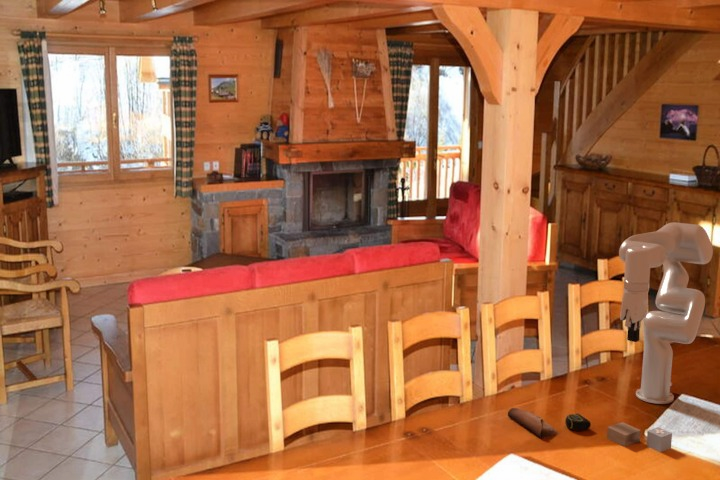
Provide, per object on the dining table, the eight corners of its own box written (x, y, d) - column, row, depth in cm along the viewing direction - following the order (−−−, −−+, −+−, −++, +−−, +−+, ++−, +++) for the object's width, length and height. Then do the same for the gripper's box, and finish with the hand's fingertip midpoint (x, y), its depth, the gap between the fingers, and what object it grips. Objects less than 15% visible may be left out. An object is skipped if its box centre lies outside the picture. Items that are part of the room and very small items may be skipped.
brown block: (621, 433, 242) (622, 422, 241) (639, 442, 236) (640, 430, 235) (606, 438, 238) (607, 427, 238) (624, 447, 233) (625, 435, 232)
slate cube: (657, 442, 236) (658, 426, 235) (670, 448, 232) (672, 432, 231) (646, 445, 233) (647, 430, 232) (660, 452, 229) (661, 436, 228)
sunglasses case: (562, 433, 241) (554, 419, 239) (546, 448, 239) (538, 433, 237) (527, 412, 257) (520, 398, 255) (512, 425, 256) (504, 411, 253)
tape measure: (591, 431, 244) (592, 420, 243) (572, 434, 242) (573, 423, 241) (579, 422, 250) (579, 411, 249) (561, 425, 248) (561, 414, 247)
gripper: (635, 279, 248) (632, 332, 252) (614, 288, 237) (611, 344, 241) (658, 283, 243) (654, 337, 247) (637, 293, 232) (633, 349, 236)
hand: (633, 340), depth 244 cm, fingers closed
